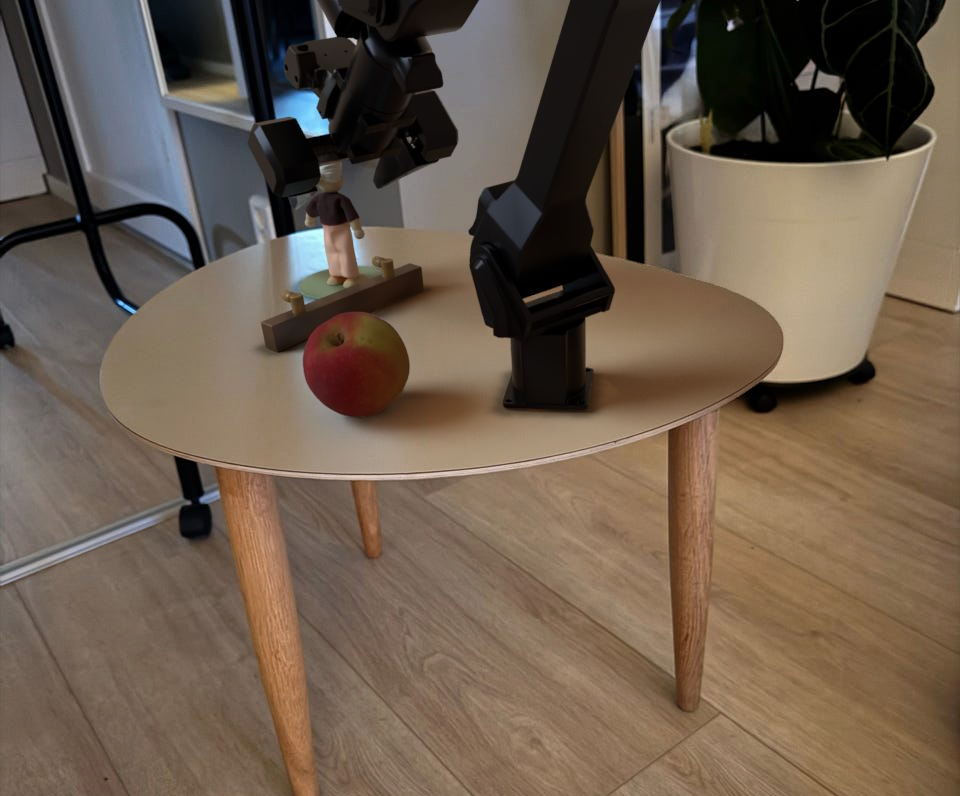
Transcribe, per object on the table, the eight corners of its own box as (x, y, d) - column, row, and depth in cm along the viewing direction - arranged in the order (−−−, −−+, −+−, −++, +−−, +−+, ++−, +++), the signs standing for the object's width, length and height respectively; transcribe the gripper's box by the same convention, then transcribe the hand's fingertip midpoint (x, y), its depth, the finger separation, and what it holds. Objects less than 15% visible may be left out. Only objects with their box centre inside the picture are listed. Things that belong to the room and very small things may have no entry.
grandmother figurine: (385, 278, 97) (370, 151, 90) (366, 292, 94) (348, 162, 87) (322, 272, 100) (303, 148, 93) (302, 284, 97) (280, 158, 90)
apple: (303, 402, 75) (285, 307, 71) (400, 381, 77) (389, 288, 73) (323, 445, 69) (305, 345, 65) (428, 421, 71) (417, 322, 67)
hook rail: (277, 352, 84) (268, 309, 82) (199, 319, 92) (189, 279, 89) (430, 287, 95) (426, 247, 93) (349, 263, 103) (343, 225, 100)
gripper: (429, -9, 83) (380, 109, 97) (232, 19, 74) (209, 144, 88) (488, 96, 82) (430, 200, 95) (294, 136, 73) (261, 245, 87)
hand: (335, 194), depth 91 cm, fingers open, 9 cm apart
